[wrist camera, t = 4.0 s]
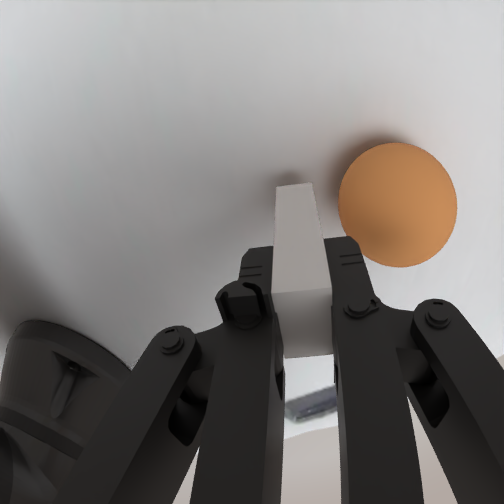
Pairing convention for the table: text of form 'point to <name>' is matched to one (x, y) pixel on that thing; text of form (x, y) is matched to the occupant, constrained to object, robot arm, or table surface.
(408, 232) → the ball
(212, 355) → the robot arm
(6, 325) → the table surface
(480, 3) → the table surface
